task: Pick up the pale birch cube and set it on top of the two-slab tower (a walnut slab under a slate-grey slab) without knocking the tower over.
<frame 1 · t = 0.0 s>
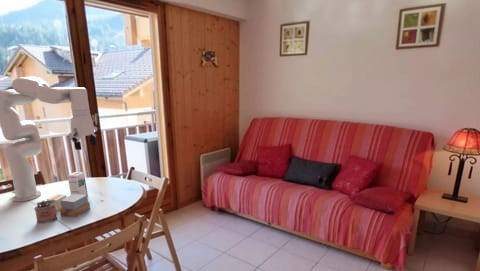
hand: (86, 147, 141), 31 cm above the table, tool pointing down, fingers open, 9 cm apart
lighter: (47, 221, 132), on the table
syrup box: (79, 198, 155), on the table
slate block: (75, 205, 139), point 4 cm above the table, touching walnut block
birch cube: (58, 207, 145), on the table
walnut block: (76, 212, 140), on the table, touching slate block
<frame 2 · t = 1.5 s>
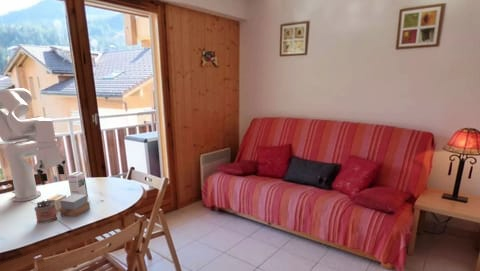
hand: (53, 177, 141), 17 cm above the table, tool pointing down, fingers open, 9 cm apart
nothing on the table moved.
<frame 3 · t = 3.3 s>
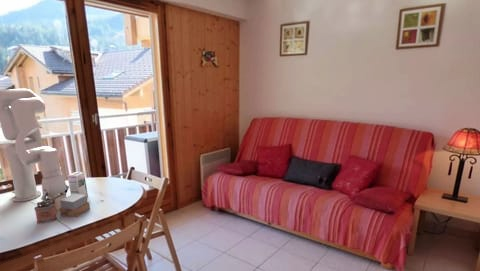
hand: (58, 206, 144), 1 cm above the table, tool pointing down, fingers closed on birch cube, 6 cm apart
slate block: (74, 205, 139), point 4 cm above the table
birch cube: (58, 207, 145), on the table, touching gripper
walnut block: (75, 212, 140), on the table
everything else where it was.
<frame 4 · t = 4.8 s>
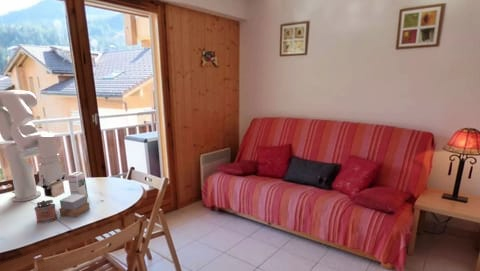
hand: (54, 192, 143), 8 cm above the table, tool pointing down, fingers closed on birch cube, 6 cm apart
slate block: (74, 205, 139), point 4 cm above the table, touching walnut block
birch cube: (54, 194, 143), point 7 cm above the table, touching gripper
walnut block: (75, 213, 139), on the table, touching slate block
everything else where it was.
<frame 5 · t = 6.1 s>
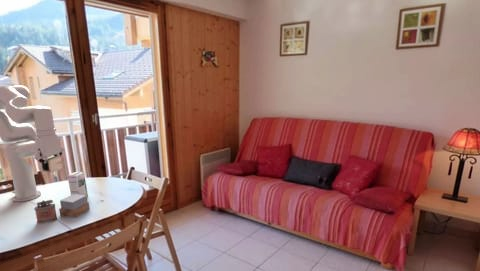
hand: (52, 167, 140), 22 cm above the table, tool pointing down, fingers closed on birch cube, 6 cm apart
birch cube: (52, 169, 140), point 21 cm above the table, touching gripper
everything else where it was.
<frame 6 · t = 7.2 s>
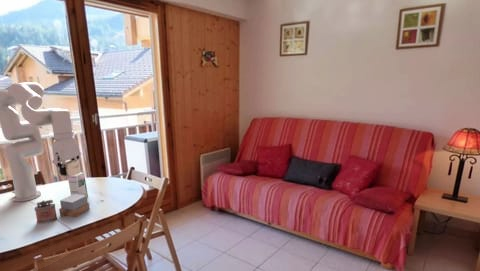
hand: (69, 172, 135), 21 cm above the table, tool pointing down, fingers closed on birch cube, 6 cm apart
slate block: (74, 205, 139), point 4 cm above the table
birch cube: (69, 174, 135), point 20 cm above the table, touching gripper
walnut block: (75, 213, 139), on the table
everything else where it was.
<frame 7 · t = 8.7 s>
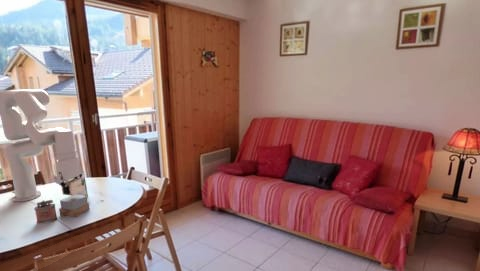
hand: (72, 190, 137), 11 cm above the table, tool pointing down, fingers closed on birch cube, 6 cm apart
birch cube: (72, 192, 137), point 10 cm above the table, touching gripper
everything else where it was.
when the fingers open (10 cm above the table, at t = 9.5 s): birch cube drops 1 cm, resting on slate block.
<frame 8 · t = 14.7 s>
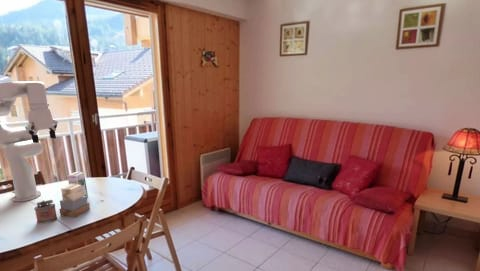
hand: (44, 140, 144), 34 cm above the table, tool pointing down, fingers open, 9 cm apart
slate block: (74, 205, 138), point 4 cm above the table, touching birch cube, walnut block
birch cube: (73, 198, 138), point 8 cm above the table, touching slate block
walnut block: (75, 213, 139), on the table, touching slate block
everything else where it was.
at the end: birch cube 0.3 cm off-centre on the slate block, point 4.0 cm above the slate block's base; birch cube tilted 1°; slate block 0.2 cm from the walnut block (horizontally) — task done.
